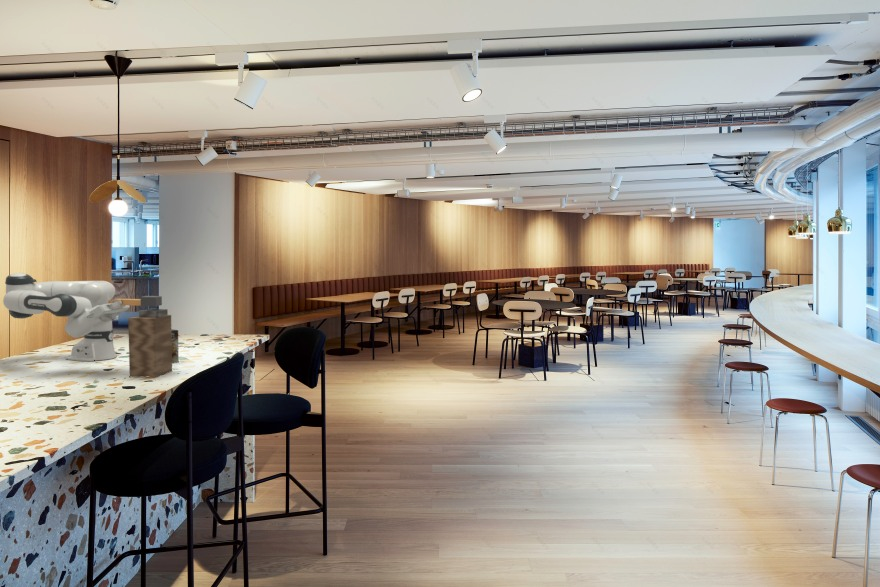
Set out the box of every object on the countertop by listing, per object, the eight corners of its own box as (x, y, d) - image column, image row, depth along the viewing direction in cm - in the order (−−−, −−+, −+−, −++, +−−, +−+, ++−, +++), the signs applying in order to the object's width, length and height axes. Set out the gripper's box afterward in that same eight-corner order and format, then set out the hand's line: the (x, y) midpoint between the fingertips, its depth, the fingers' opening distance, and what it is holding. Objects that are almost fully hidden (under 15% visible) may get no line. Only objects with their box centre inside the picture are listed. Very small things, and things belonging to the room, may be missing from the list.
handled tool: (113, 305, 267) (113, 296, 267) (120, 304, 272) (119, 295, 272) (155, 306, 266) (155, 297, 266) (161, 305, 271) (161, 296, 271)
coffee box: (161, 364, 291) (160, 331, 290) (154, 363, 295) (154, 330, 293) (179, 362, 298) (178, 330, 297) (172, 360, 302) (171, 328, 301)
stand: (129, 376, 265) (128, 311, 262) (147, 370, 278) (145, 307, 276) (155, 377, 264) (154, 311, 262) (172, 370, 278) (171, 308, 275)
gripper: (80, 312, 260) (107, 296, 259) (109, 307, 281) (133, 293, 279) (88, 324, 260) (114, 309, 259) (116, 318, 281) (140, 304, 280)
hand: (124, 300), depth 269 cm, fingers closed on handled tool, 3 cm apart
